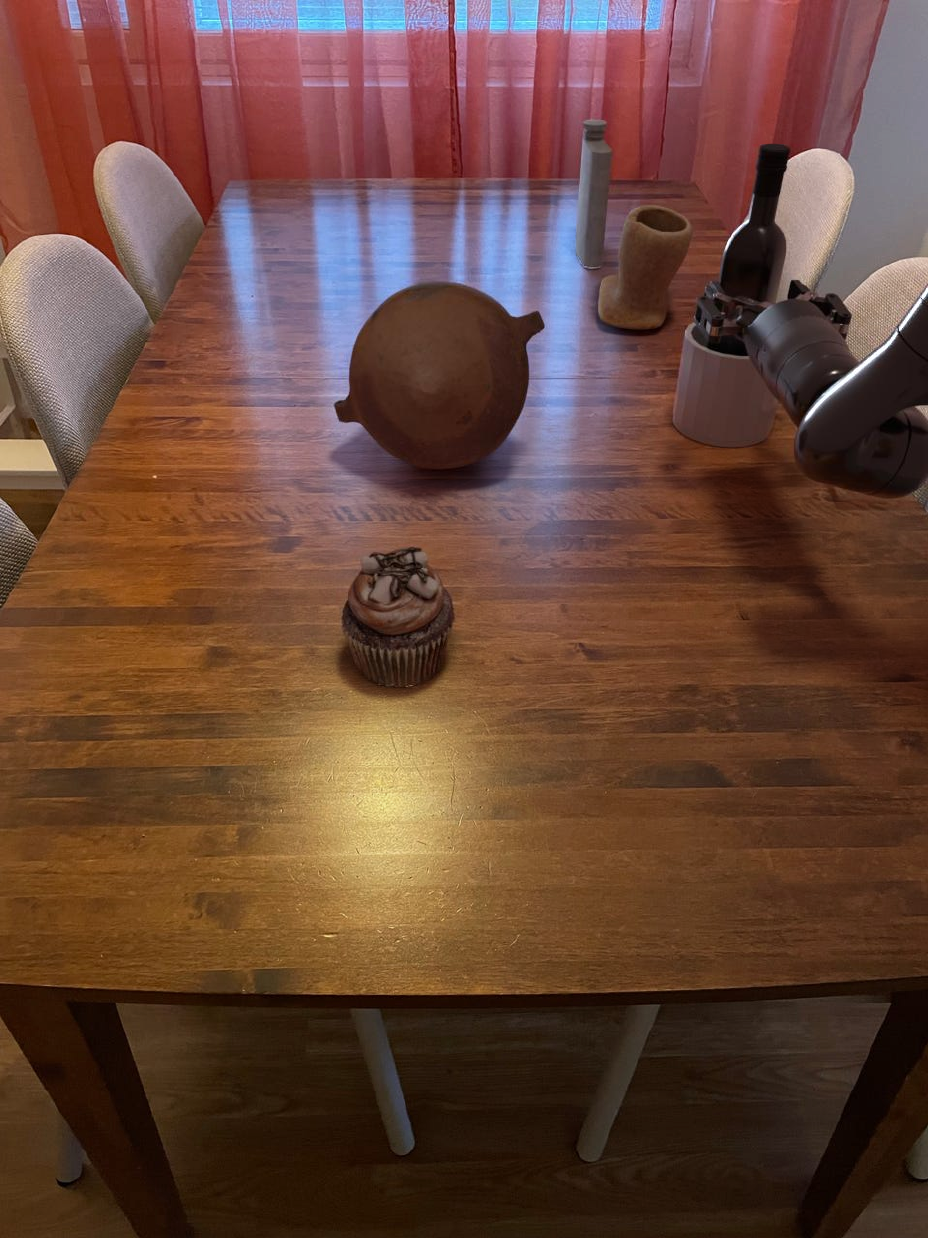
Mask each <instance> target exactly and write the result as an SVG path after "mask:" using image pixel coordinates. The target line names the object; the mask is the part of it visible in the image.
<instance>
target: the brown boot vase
mask: <svg viewBox="0 0 928 1238" xmlns="http://www.w3.org/2000/svg"><path fill="white" fill-rule="evenodd" d="M692 236H693V226H692V223H691V222H690V221H689V219H688V218H687V217H685V216H684V215H683V214H681V213H678V212H677V211H676V210H674V209H670V208H667V207H666V206H665V207H664V206H661V205H656V204H655V205H653V204H646V205H645V204H644V205H640V206H637V207H635V208H632V210H631V211H630V212H629V213H628V215H627V216H626V218H625V220H624V224H623V227H622V231H621V237H620V241H619V247H618V254H617V255H618V273H614V274H609V275H608V276H604V277H603V278H602V280H601V282H600V287H599V291H598V292H599V293H598V300H597V301H598V302H597V305H598V306H597V313H598V316H599V318H600V320H601V321H602V322H603V323H604V324H606V325H608V326H611V327H615V328H620V329H625V330H639V331H640V330H641V331H643V330H644V331H645V330H654V329H657V328H660V327H661V326H662V325H663V324H664V322H665V320H666V318H667V313H668V305H667V300H666V299H667V298H666V293H667V292H668V289H669V287H670V284H671V283H672V281H673V279H674V277H675V276H676V274H677V273H678V271H679V269H680V268H681V266H682V265H683V262H684V260H685V259H686V257H687V254H688V251H689V249H690V245H691V241H692Z"/></svg>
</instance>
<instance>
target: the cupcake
mask: <svg viewBox="0 0 928 1238" xmlns="http://www.w3.org/2000/svg"><path fill="white" fill-rule="evenodd" d="M361 557H362V558H361V559H360V567H361V570H360V571H359V573H358V574H357V575H356V576H355V578H354V579H353V581H352V582H351V584H350V586H349V589H348V592H347V599H346V601H345V603H344V605H343V608H342V611H341V613H342V616H341V617H340V619H341V622H340V623H341V631H342V632H343V635H344V637H345V640H346V642H347V645H348V648H349V650H350V653H351V656H352V659H353V661H354V663H355V665H356V667H357V670H358V672H359V673H360V674H361V675H362V676H363V677H364V678H365V679H366V680H367V681H369V680H370V681H369V682H371V681H373V682H375V683H374V684H376V683H377V684H376V685H378V684H380V685H385V686H386V685H387V686H388V687H387V688H390V687H389V686H397V687H406V686H409V685H415V684H418V685H420V684H421V683H422V682H421V681H425V680H427V679H429V678H431V679H432V678H433V676H434V677H435V675H436V674H437V673H439V672H440V671H441V669H442V666H443V664H444V663H445V661H446V660H445V658H446V652H447V646H448V642H449V638H450V635H451V631H452V628H453V626H454V622H455V620H456V619H455V618H456V613H455V608H454V605H453V604H454V603H453V598H452V596H451V594H450V592H449V591H448V590H447V589H446V587H444V584H443V581H442V578H441V577H440V575H439V573H438V572H437V571H436V570H435V569H433V567H431V565H429V564H428V563H429V556H428V553H426V552H424V551H422V547H414V546H410V547H404V548H399V549H395V550H393V551H391V552H387V553H383V552H377V551H373V552H372V553H371V554H368V555H363V556H361ZM429 680H430V679H429ZM427 681H428V680H427ZM373 682H372V683H373ZM420 682H421V683H420ZM425 682H426V681H425ZM419 683H420V684H419ZM380 685H379V686H380ZM385 686H384V687H385ZM415 686H416V685H415ZM397 687H396V688H397ZM406 688H407V687H406Z"/></svg>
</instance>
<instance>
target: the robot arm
mask: <svg viewBox="0 0 928 1238" xmlns="http://www.w3.org/2000/svg"><path fill="white" fill-rule="evenodd" d="M725 294H726V293H725V292H724V290H723V289H722V287H721V286H720V284H719V283H718V280H711V281H709V285H706V286H705V287H704V294H703V295H699V296H697V297H696V305H695V306H696V307H695V312H694V316H693V322H694V323H695V324H696V325H697V327H698V328H699V330H700V331H701V332H702V334H703V335H704V337H705V338H706V339H707V341H708V342H709V343H713V344H716V343H719V342H720V339H721V335H735V337H736V338H737V339H739V340H741V341H743V342H744V343H745V346H746V350H747V353H748V356H749V358H750V360H751V362H752V363H753V365H754V367H755V368H756V370H757V371H758V373H759V375H760V376H761V378H762V380H763V381H764V383H765V384H766V386H767V388H768V389H769V391H770V392H771V393H772V395H773V396H774V397H775V398H776V399H777V400H778V401H779V402H778V403H780V404H781V407H782V408H783V409H784V411H785V412H786V414H787V415H788V417H789V418H790V420H791V422H792V423H793V424H794V426H795V427H796V428H797V430H796V433H795V437H794V441H793V443H794V444H793V456H794V461H795V464H796V466H797V468H798V469H799V471H800V473H802V474H803V475H804V476H805V477H807V478H808V479H810V480H812V481H814V482H817V483H820V484H823V485H827V486H830V487H833V488H834V487H835V488H839V489H842V490H847V491H849V492H854V493H858V494H862V495H865V496H869V497H873V498H877V499H883V500H884V499H885V500H893V499H894V500H895V499H901V498H904V497H907V496H909V495H911V494H913V493H915V492H917V491H918V490H919V489H921V488H922V487H923V486H924V485H925V484H926V483H927V481H928V417H926V415H924V413H923V412H922V411H921V410H919V409H918V408H917V407H921V406H924V407H928V282H927V283H926V284H925V286H924V287H923V289H922V290H921V292H920V293H919V295H918V296H917V297H916V299H915V300H914V302H913V303H912V304H911V305H910V307H909V308H908V310H907V311H906V312H905V314H903V316H902V318H901V319H900V321H899V322H898V324H897V325H896V326H895V327H894V329H893V330H892V332H891V333H890V335H889V336H888V337H887V338H886V339H885V340H884V341H883V342H882V343H881V344H879V346H876V348H874V349H873V350H872V351H871V352H870V353H868V354H867V355H866V356H865V357H864V358H863V359H862V360H860V361H859V360H858V359H857V357H855V355H854V354H853V353H852V352H851V348H850V346H849V345H848V343H847V341H846V340H847V336H848V333H849V329H850V325H851V322H852V318H853V314H852V312H851V311H850V310H849V308H848V307H847V306H846V305H845V303H844V301H842V299H841V298H840V296H839V295H838V294H836V293H834V292H831V293H829V292H828V293H826V294H825V297H822V296H819V293H818V292H817V291H814V290H811V289H810V287H808V286H807V285H806V284H804V283H802V282H801V280H800V279H791V280H790V282H789V286H788V290H787V297H786V298H787V299H783V300H781V301H779V302H776V303H774V304H771V303H769V302H766V301H763V302H758V301H756V300H753V299H750V298H747V297H745V296H742V295H740V296H738V297H735V298H733V297H730V296H728V295H725ZM724 305H726V306H728V308H729V311H728V316H727V315H725V312H723V310H724ZM742 307H744V308H747V310H746V311H745V312H744V313H743V314H741V312H742Z"/></svg>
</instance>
